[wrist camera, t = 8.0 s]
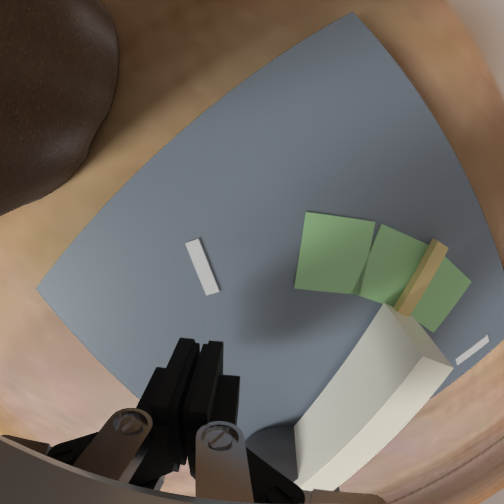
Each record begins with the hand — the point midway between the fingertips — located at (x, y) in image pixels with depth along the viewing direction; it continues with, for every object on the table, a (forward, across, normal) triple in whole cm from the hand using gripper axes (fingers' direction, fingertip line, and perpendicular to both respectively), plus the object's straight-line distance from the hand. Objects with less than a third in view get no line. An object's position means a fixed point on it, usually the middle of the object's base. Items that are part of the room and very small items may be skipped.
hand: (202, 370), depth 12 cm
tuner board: (+3, -4, -1) cm, 5 cm away
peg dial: (+2, -6, +3) cm, 7 cm away
